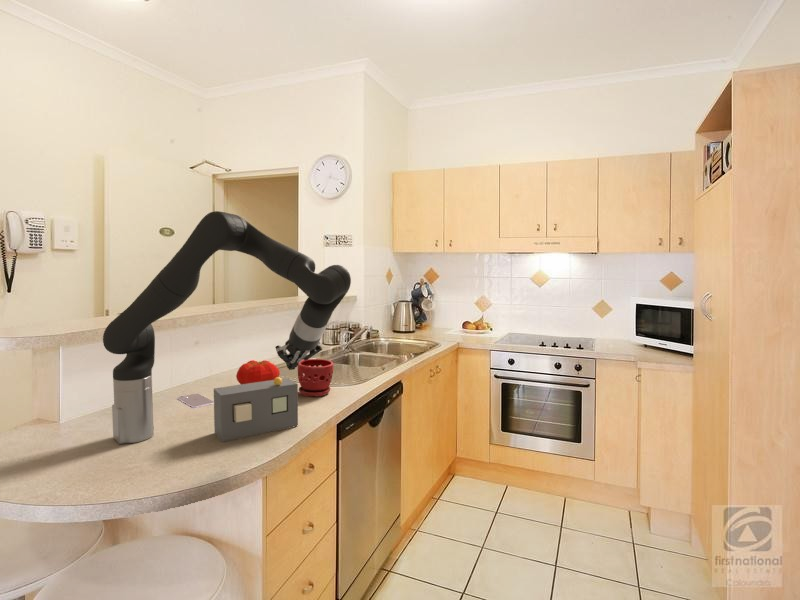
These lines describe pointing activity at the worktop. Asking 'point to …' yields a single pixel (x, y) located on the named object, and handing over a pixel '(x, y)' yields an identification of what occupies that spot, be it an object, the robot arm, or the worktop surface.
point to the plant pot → (315, 377)
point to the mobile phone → (195, 400)
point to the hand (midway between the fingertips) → (290, 367)
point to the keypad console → (255, 408)
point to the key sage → (279, 404)
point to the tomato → (257, 372)
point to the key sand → (242, 412)
